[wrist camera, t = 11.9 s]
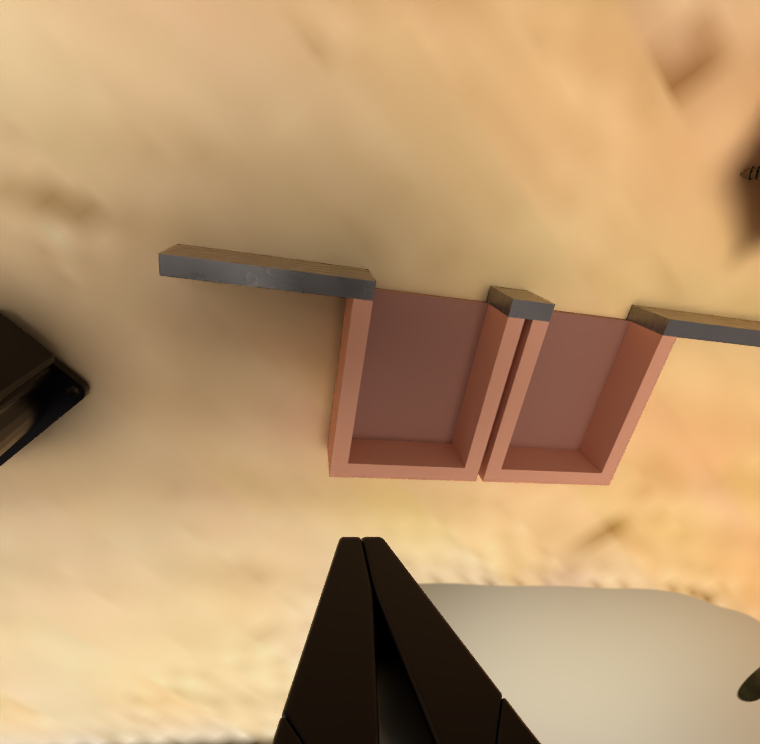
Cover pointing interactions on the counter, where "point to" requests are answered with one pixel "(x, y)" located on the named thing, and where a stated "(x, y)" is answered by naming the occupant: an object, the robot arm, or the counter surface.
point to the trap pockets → (486, 392)
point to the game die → (752, 173)
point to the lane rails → (362, 284)
